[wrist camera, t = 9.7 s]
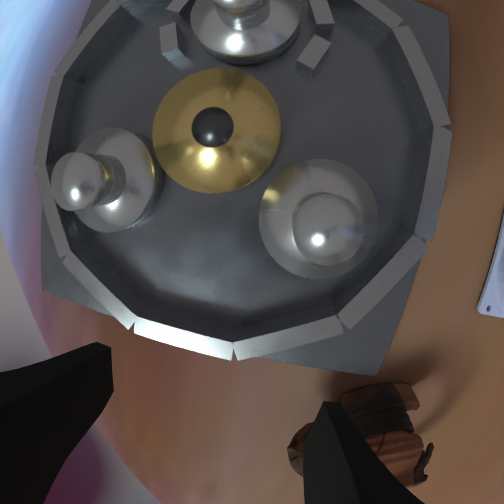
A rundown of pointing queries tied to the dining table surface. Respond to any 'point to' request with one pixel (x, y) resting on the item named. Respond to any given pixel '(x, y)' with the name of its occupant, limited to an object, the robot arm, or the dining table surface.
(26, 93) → the dining table surface
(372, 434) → the pottery mug
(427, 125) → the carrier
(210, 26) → the planet gear
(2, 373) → the robot arm
